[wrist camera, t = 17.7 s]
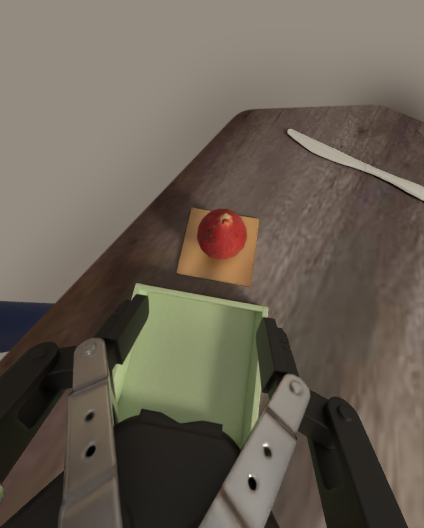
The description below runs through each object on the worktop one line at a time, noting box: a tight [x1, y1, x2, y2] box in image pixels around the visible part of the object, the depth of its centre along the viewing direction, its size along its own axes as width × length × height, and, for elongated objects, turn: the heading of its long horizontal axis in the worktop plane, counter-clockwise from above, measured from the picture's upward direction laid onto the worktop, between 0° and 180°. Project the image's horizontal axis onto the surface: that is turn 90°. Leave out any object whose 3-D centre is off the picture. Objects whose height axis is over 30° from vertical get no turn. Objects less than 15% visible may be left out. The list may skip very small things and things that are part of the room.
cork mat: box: [176, 208, 259, 287], centre depth 25 cm, size 10×10×1 cm
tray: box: [112, 283, 268, 448], centre depth 20 cm, size 15×15×3 cm
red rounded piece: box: [197, 209, 247, 259], centre depth 21 cm, size 6×6×8 cm
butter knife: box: [287, 129, 424, 201], centre depth 29 cm, size 1×27×3 cm
